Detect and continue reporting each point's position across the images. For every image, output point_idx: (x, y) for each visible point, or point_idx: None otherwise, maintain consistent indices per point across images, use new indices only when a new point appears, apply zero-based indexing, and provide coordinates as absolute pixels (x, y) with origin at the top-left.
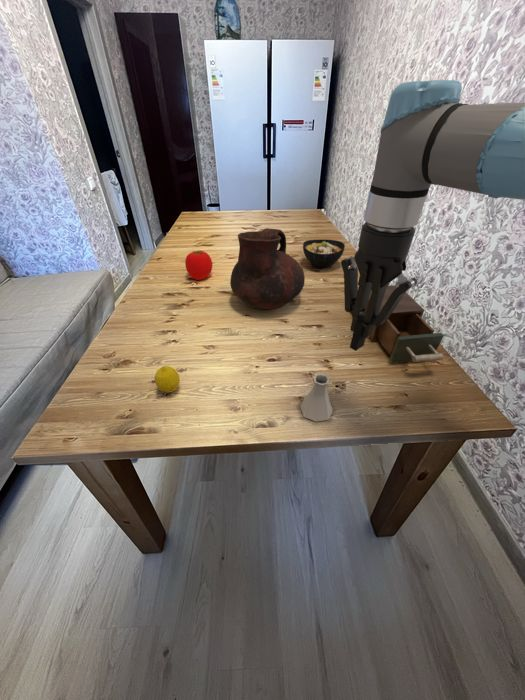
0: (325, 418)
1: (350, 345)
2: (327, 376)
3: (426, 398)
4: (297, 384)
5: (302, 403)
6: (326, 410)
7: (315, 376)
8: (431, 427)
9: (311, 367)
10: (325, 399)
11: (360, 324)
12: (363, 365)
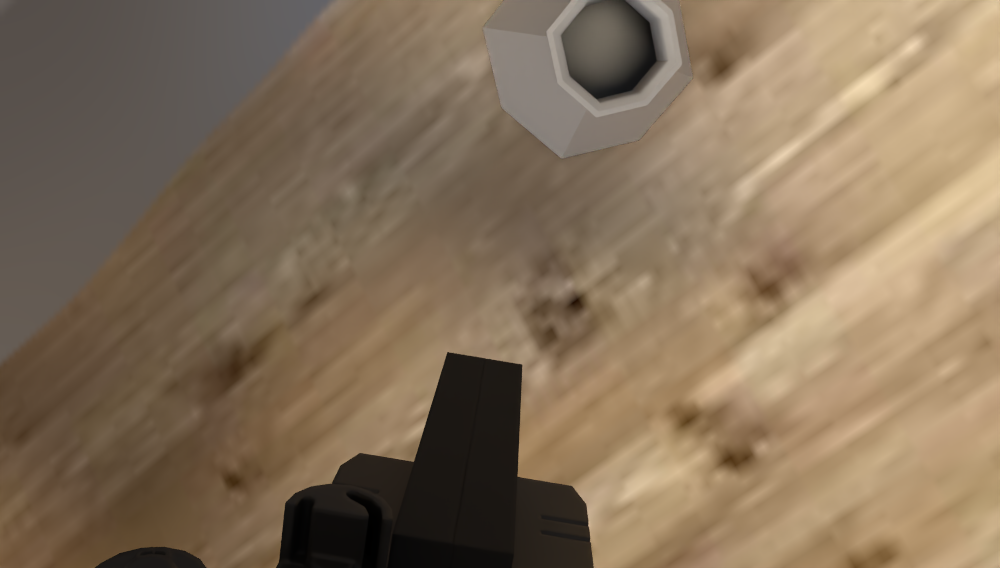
0: (499, 11)
1: (517, 375)
2: (587, 106)
3: (141, 520)
4: (795, 156)
5: (676, 5)
6: (508, 25)
7: (669, 41)
8: (40, 348)
9: (793, 347)
10: (534, 34)
11: (433, 529)
12: None
